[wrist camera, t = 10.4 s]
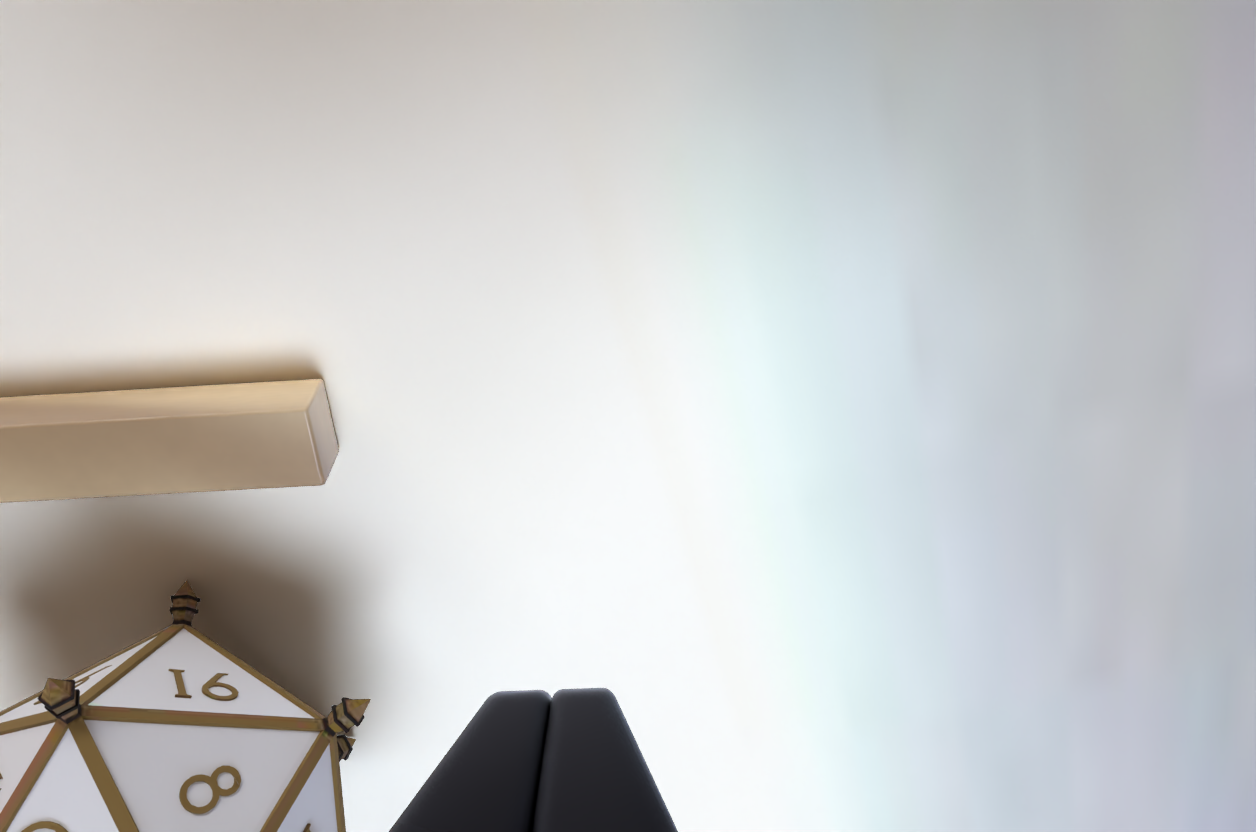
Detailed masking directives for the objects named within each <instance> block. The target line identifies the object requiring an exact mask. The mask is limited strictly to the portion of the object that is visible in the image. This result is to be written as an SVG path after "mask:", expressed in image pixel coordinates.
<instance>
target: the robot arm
mask: <svg viewBox="0 0 1256 832" xmlns="http://www.w3.org/2000/svg"><path fill="white" fill-rule="evenodd" d="M389 832H678V831H677V829H676V827H675V825H674V822H673V820H672V818H671V816H670V814H669V812H668V809H667V807H666V805H665V803H664V801H663V799H662V797H661V794H660V792H659V790H658V788H657V786H656V784H655V781H654V779H653V777H652V775H651V773H650V771H649V769H648V766H647V764H646V762H645V760H644V758H643V756H642V753H641V751H640V749H639V747H638V745H637V743H636V741H635V738H634V736H633V734H632V732H631V730H630V728H629V725H628V723H627V721H626V719H625V717H624V715H623V713H622V710H621V708H620V706H619V704H618V702H617V700H616V698H615V696H614V694H613V693H612V692H611V691H610V690H608V689H606V688H588V689H562V690H559V691H557V692H556V693H555V694H554V696H553V698H551V696H550V695H549V694H548V693H547V692H545V691H543V690H530V691H502V692H497V693H494V694H493V695H491V696H490V697H488V699H487V700H486V701H485V702H484V704H483V705H482V706H481V708H480V709H479V711H478V712H477V713H476V715H475V716H474V717H473V719H472V720H471V721H470V723H469V724H468V725H467V727H466V728H465V729H464V731H463V732H462V734H461V735H460V736H459V738H458V739H457V740H456V742H455V743H454V744H453V746H452V747H451V748H450V750H449V751H448V752H447V754H446V755H445V757H444V758H443V759H442V761H441V762H440V763H439V765H438V766H437V767H436V769H435V770H434V771H433V773H432V774H431V775H430V777H429V778H428V780H427V781H426V782H425V784H424V785H423V786H422V788H421V789H420V790H419V792H418V793H417V794H416V796H415V797H414V798H413V800H412V801H411V803H410V804H409V805H408V807H407V808H406V809H405V811H404V812H403V813H402V815H401V816H400V817H399V819H398V820H397V821H396V823H395V824H394V825H393V827H392V828H391V830H390V831H389Z"/></svg>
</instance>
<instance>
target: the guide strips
mask: <svg viewBox="0 0 1256 832" xmlns="http://www.w3.org/2000/svg"><path fill="white" fill-rule="evenodd" d="M338 452H339V449H338V444H337V440H336V436H335V431H334V427H333V422H332V418H331V413H330V409H329V404H328V400H327V395H326V391H325V386H324V382H323V380H322V379H307V380H290V381H273V382H256V383H238V384H221V385H204V386H187V387H170V388H152V389H135V390H118V391H101V392H84V393H66V394H49V395H32V396H15V397H0V503H6V502H24V501H43V500H61V499H79V498H97V497H116V496H134V495H152V494H170V493H188V492H207V491H225V490H243V489H261V488H280V487H298V486H316V485H323V484H325V482H326V480H327V478H328V476H329V473H330V471H331V469H332V466H333V464H334V462H335V460H336V457H337V455H338Z"/></svg>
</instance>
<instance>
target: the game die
mask: <svg viewBox="0 0 1256 832" xmlns="http://www.w3.org/2000/svg"><path fill="white" fill-rule="evenodd" d="M171 601H172V603H173V606H172V607H170V612H171V614H173V619H174V621H173V624H172V625H170V626H168V627H166V628H164V629H162V630H160V631H158V632H156V633H154V634H153V635H151V636H149V637H147V638H145V639H143V640H141V641H139V642H137V643H135V644H133V645H131V646H129V647H127V648H125V649H123V650H121V651H119V652H117V653H115V654H113V655H111V656H109V657H107V658H105V659H103V660H101V661H99V662H97V663H96V664H94V665H92V666H90V667H88V668H86V669H84V670H82V671H80V672H78V673H76V674H74V675H72V676H70V677H68V678H66V679H64V680H57V679H51V678H48V680H47V682H46V685H45V688H44V690H42V691H41V692H39V693H37V694H35V695H33V696H31V697H29V698H27V699H25V700H23V701H21V702H19V703H17V704H15V705H13V706H11V707H9V708H7V709H5V710H3V711H1V712H0V832H346V829H345V818H344V808H343V797H342V787H341V777H340V766H339V762H340V760H341V759H344V760H347V759H348V757H349V755H350V753H351V751H352V746H353V744H354V742H355V740H356V739H352V738H348V737H346V736H345V735H339V736H337V735H336V733H338V732H341V731H345V732H346V733H347V732H349V730H350V729H351V727H352V726H354V725H356V726H359V725H360V723H361V722H362V720H363V719H364V715H363V714H364V712H365V710H366V708H367V706H368V704H369V702H370V700H371V699H355V700H353V699H349V698H345V697H344V698H342V703H340V704H339V705H338V706H337V705H333V706H332V711H331V713H330V714H329V715H328V717H325V716H323V715H322V714H320V713H319V712H317V711H316V710H315V709H313V708H312V707H310V706H309V705H307V704H306V703H304V702H303V701H301V700H300V699H298V698H297V697H295V696H294V695H292V694H291V693H289V692H288V691H286V690H285V689H284V688H282V687H281V686H279V685H278V684H276V683H275V682H273V681H272V680H270V679H269V678H267V677H266V676H264V675H263V674H261V673H260V672H258V671H257V670H255V669H254V668H252V667H251V666H250V665H248V664H247V663H245V662H244V661H242V660H241V659H239V658H238V657H236V656H235V655H233V654H232V653H230V652H229V651H227V650H226V649H224V648H223V647H221V646H220V645H218V644H217V643H216V642H214V641H213V640H211V639H210V638H208V637H207V636H205V635H204V634H202V633H201V632H199V631H198V630H196V629H195V628H193V627H192V625H191V621H192V619H193V617H194V615H195V614H196V613H198V610H196V606H197V602H200V598H197V597H196V595H195V593H194V591H193V589H192V588H191V586H190V584H189V582H188V581H187V580H186V582H185V583H184V584H183V585H182V586H181V588H180V589H179V590H178V591H177V592H176V594H175V595H174V596H171Z"/></svg>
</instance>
